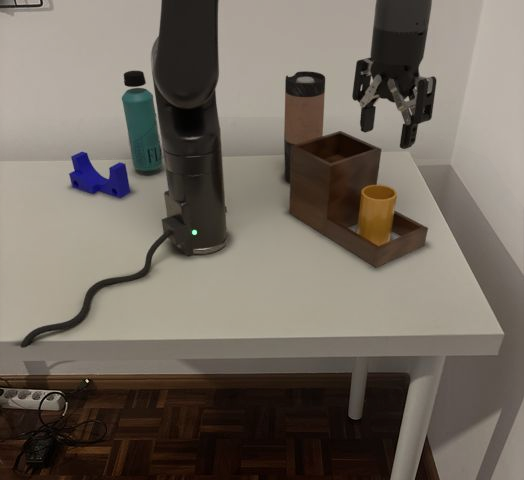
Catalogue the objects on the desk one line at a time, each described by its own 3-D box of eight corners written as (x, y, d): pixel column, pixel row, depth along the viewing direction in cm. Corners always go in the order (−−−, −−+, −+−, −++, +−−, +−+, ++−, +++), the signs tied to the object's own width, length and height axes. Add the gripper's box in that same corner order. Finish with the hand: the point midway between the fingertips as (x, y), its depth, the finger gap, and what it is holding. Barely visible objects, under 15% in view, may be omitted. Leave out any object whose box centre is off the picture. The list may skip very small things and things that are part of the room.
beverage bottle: (151, 180, 118) (135, 79, 105) (127, 173, 121) (109, 74, 107) (170, 169, 122) (157, 70, 109) (147, 162, 125) (132, 65, 112)
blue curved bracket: (72, 187, 116) (65, 159, 112) (88, 179, 119) (81, 151, 115) (115, 201, 111) (109, 172, 107) (130, 192, 114) (125, 163, 110)
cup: (372, 252, 96) (378, 203, 90) (349, 238, 99) (354, 190, 93) (396, 241, 98) (404, 193, 92) (373, 228, 102) (379, 181, 96)
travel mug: (321, 186, 115) (327, 83, 101) (283, 187, 115) (285, 83, 102) (319, 170, 120) (324, 70, 107) (283, 171, 121) (284, 71, 107)
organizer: (376, 268, 92) (386, 194, 84) (289, 213, 107) (290, 145, 98) (424, 245, 97) (439, 174, 89) (335, 196, 112) (340, 130, 103)
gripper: (346, 18, 81) (337, 131, 91) (421, 36, 72) (402, 159, 83) (383, 10, 84) (371, 121, 95) (459, 27, 75) (436, 147, 86)
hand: (385, 139), depth 89 cm, fingers open, 8 cm apart
